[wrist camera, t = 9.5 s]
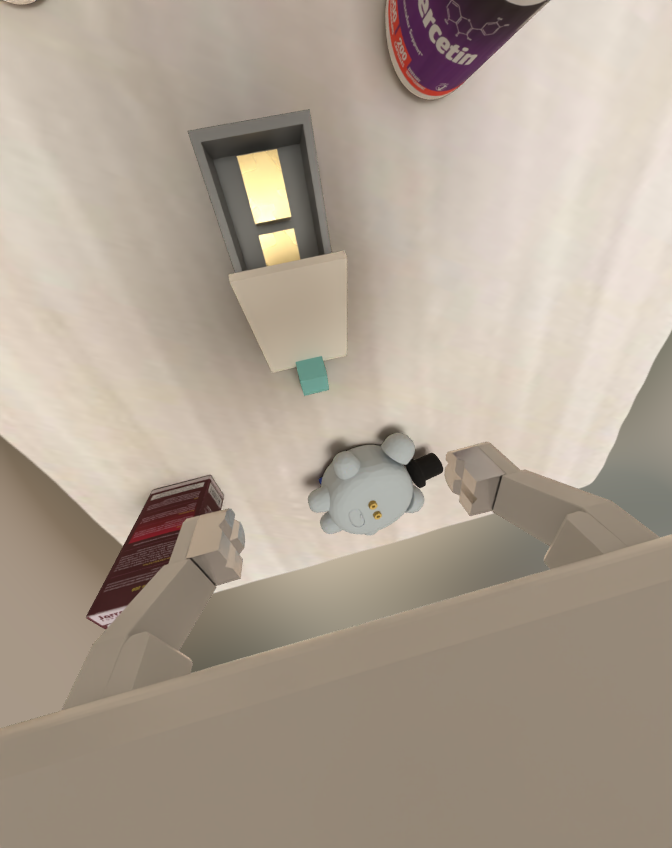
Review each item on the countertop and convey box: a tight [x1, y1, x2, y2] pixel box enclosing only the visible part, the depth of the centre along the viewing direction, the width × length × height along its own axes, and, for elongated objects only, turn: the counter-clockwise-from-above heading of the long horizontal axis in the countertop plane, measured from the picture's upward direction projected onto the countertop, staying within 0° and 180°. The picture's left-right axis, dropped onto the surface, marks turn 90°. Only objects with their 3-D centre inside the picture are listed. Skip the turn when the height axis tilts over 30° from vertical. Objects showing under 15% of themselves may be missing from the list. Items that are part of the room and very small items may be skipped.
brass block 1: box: [237, 149, 291, 226], centre depth 21 cm, size 4×3×2 cm
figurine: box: [308, 433, 443, 535], centre depth 40 cm, size 17×8×20 cm
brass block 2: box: [259, 228, 300, 266], centre depth 24 cm, size 4×3×2 cm
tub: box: [188, 109, 332, 273], centre depth 22 cm, size 11×8×4 cm
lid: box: [228, 251, 347, 396], centre depth 26 cm, size 14×9×4 cm
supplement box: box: [86, 475, 224, 629], centre depth 32 cm, size 9×5×16 cm, turn 100°
